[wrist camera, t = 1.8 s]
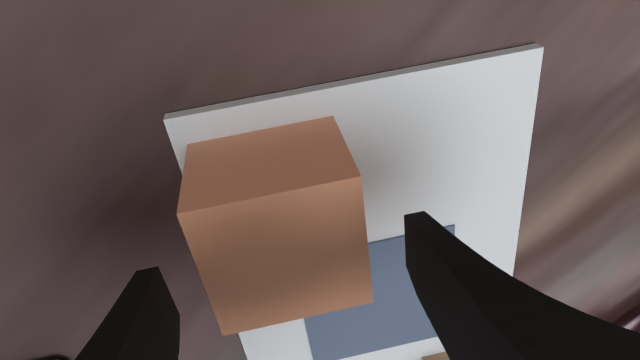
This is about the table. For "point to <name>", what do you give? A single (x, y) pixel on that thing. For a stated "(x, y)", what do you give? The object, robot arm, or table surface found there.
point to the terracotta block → (276, 224)
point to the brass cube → (437, 356)
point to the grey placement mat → (401, 182)
